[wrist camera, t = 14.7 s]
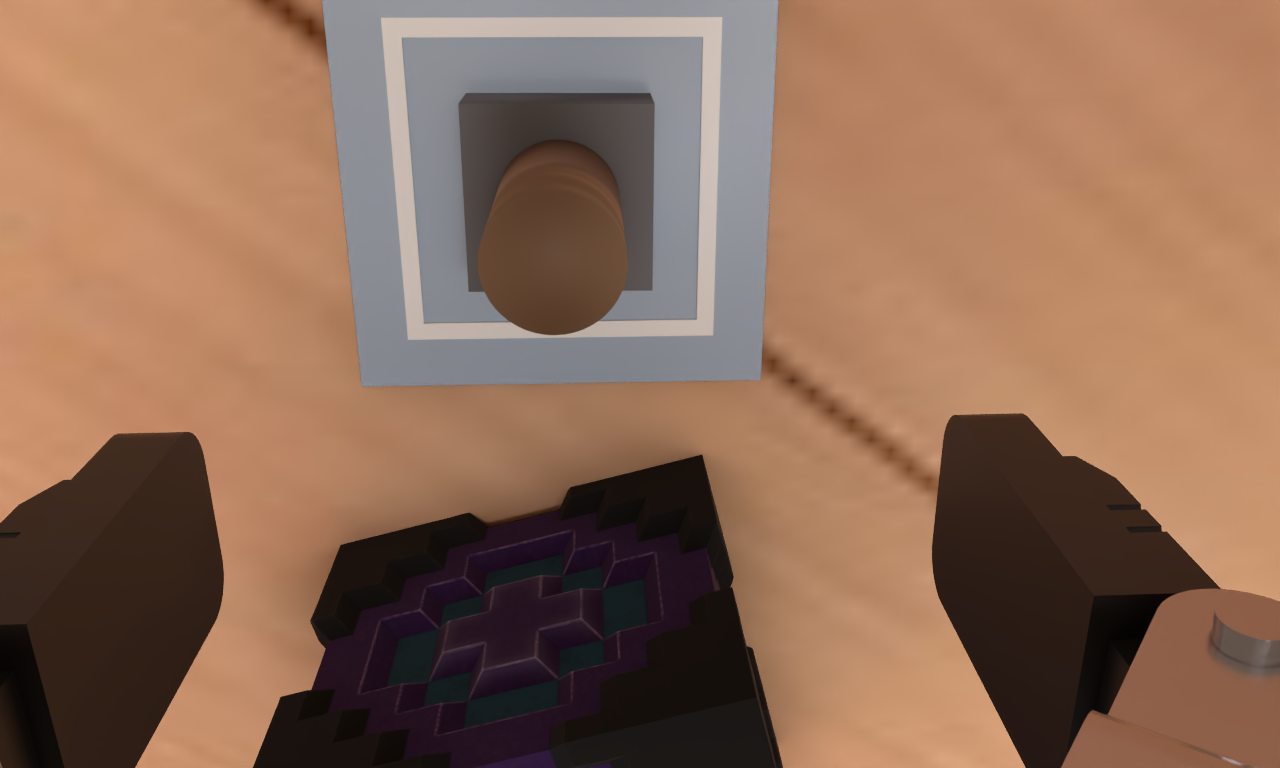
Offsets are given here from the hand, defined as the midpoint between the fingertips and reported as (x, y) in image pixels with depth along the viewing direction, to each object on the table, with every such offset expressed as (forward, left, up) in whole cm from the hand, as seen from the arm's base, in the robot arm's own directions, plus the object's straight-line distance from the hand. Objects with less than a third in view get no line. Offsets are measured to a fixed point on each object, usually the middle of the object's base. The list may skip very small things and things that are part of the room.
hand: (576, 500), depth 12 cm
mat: (+1, +1, -21) cm, 21 cm away
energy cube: (+1, +17, -21) cm, 27 cm away
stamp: (+1, +1, -20) cm, 20 cm away
